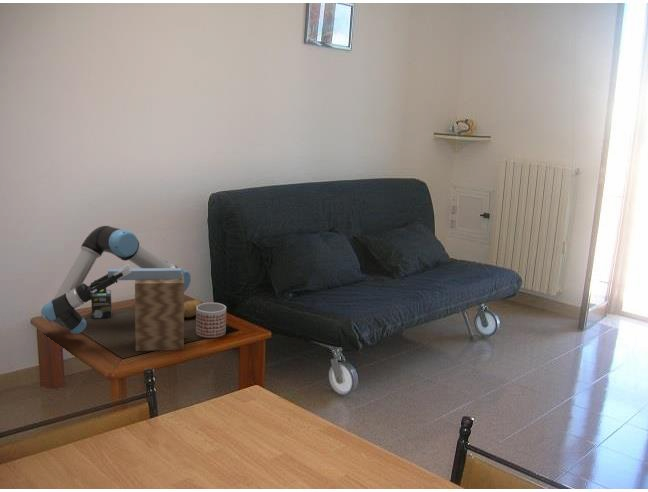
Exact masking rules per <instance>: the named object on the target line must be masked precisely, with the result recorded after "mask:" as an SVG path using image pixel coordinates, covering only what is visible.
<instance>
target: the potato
mask: <svg viewBox="0 0 648 492" xmlns="http://www.w3.org/2000/svg"><path fill="white" fill-rule="evenodd" d="M200 304H202V303H201V301H199V300H197V299H193V300H192V299H191V300H187V301H184V319H185V318H186V319H189V318H193V317H194V316H195V317H196V307H197V306H198V305H200Z"/></svg>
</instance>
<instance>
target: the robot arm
mask: <svg viewBox="0 0 648 492" xmlns="http://www.w3.org/2000/svg"><path fill="white" fill-rule="evenodd" d="M80 249H81V250H80V252H79V254H78V256H77V257H76V259H75V261H74V262H73V265H72V266H71V267H70V269H69V271H68V273H67V274H66V276H65V278H64V280H63V282H62V283H61V285H60V287H59V288H58V290H57V292H56V294H55V295H54V297H53V299H51V300H50V301H49V302H47V303H45V304H44V305H43V306H42V308H41V316H42V318H44V319H45V320H46V321H48V322H50V323H54V324H57V325H59V326H61V327H64V328H65V329H67V330H68V331H69V332H70V333H71V334H73V335H78V334H80V333H82V332H83V331H85V329H86V327H87V321H86V320H85V318H84V317H83V316H82V315H81V314H80V313H79V312H78V311H77V310H76V308H79V307H80V306H82V305H84V304H85V303H87V302H89V301H91V299H93V295H92V294H96V293H98V292H99V291H101V290H103V289H105V288H106V289H107V288H108V287H110V286H112V285H113V284H115V283H116V284H117V283H118V281H120V280H119V279H120V278H122V277H124V276H126V275H128V274H130V273H131V271H130V269H131V268H132V266H131V265H130V264H129V263H127V264H126V265H123V266H122V267H120V268H119V269H123V270H121V271H119V272H117V273H116V274H114V276H111V277H109V278H108V273H107V274H105V275H103V276H102V277H100V278H98V279H95V280H93V282H91V283H90V285H87V284H86V283H84V282H85V279H86V278H87V277H88V275H89V274H90V271H91V270H92V268H93V266H94V265H95V262H96V261H97V259H98V258H100V257H102V255H103V253H109V254H111V255H113V256H115V257H116V258H118V259H120V260H121V261H130V262H131V263H133V264H134V265H136V266H138V267H139V268H179V267H178V266H177V265H176V264H174V263H172V262H168V261H167V260H162V259H161V258H160V257H158V256H157V255H155V253H153V252H151V251H149V250H148V249H146V248H145V247H143V246H142V245H141V244H140V240H139V239H138V237H137V236H136V234H134V232H132V231H130V230H127V229H122V228H119V227H114V226H110V225H102V226H98V227H97V228H95V229H93V230H92V231H91V232H90V233H89V234H88V235H87V237H86V238H85V239H84V241H83V242H82V244H81V246H80ZM181 274H184V292H186V291H188V290H187V289H188V288H189V287H190V285H191V280H192V279H191V277H192V276H191V273H190V272H189V270H186V269H183V268H181Z"/></svg>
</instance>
